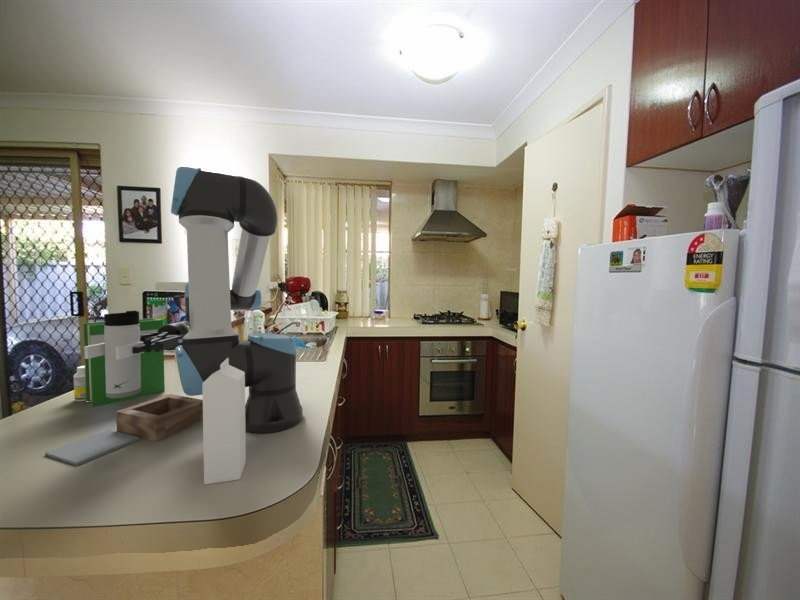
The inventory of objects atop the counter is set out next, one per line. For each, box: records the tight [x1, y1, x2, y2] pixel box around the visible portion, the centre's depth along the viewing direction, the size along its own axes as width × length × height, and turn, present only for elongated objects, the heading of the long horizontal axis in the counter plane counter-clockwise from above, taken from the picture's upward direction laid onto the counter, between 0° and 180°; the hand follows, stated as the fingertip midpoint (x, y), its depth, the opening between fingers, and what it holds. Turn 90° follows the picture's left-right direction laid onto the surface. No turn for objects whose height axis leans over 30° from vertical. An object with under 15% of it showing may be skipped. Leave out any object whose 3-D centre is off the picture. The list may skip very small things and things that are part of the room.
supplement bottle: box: [73, 364, 86, 402], centre depth 97 cm, size 6×6×10 cm
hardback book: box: [82, 317, 166, 408], centre depth 100 cm, size 18×7×24 cm, turn 145°
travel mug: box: [103, 310, 141, 398], centre depth 74 cm, size 6×7×20 cm
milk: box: [202, 358, 247, 485], centre depth 60 cm, size 6×6×22 cm
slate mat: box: [44, 429, 139, 466], centre depth 70 cm, size 11×11×1 cm
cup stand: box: [115, 393, 203, 442], centre depth 81 cm, size 14×13×5 cm
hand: (102, 352), depth 69 cm, fingers closed on travel mug, 6 cm apart
